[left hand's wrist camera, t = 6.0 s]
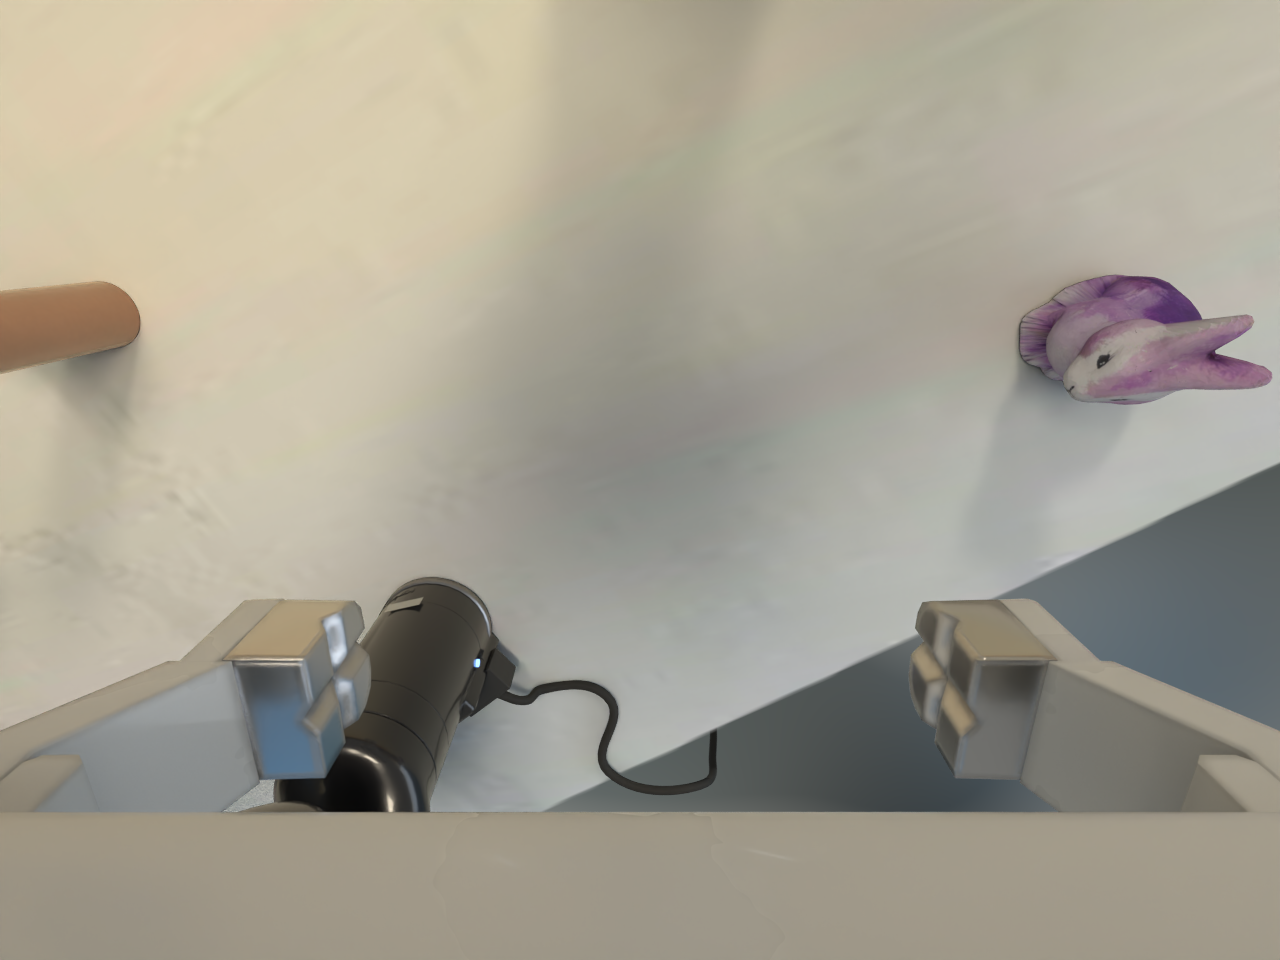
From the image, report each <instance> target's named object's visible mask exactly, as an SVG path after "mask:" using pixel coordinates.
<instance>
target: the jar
mask: <svg viewBox="0 0 1280 960" xmlns="http://www.w3.org/2000/svg"><path fill="white" fill-rule="evenodd" d="M139 327H140V317H139V313H138V310H137V308H136V306H135V304H134V302H133V301H132V299H131V298H130V297H129V296H128V295H127V294H126V293H125V292H124V291H123V290H121V289H120V288H118V287H117V286H115V285H112V284H110V283H107V282H102V281H95V282H84V283H74V284H64V285H54V286H43V287H33V288H23V289H13V290H3V291H0V374H4V373H8V372H13V371H17V370H21V369H26V368H30V367H34V366H39V365H43V364H48V363H52V362H56V361H61V360H65V359H69V358H74V357H78V356H83V355H87V354H91V353H96V352H100V351H104V350H109V349H113V348H118V347H122V346H125V345H127V344H129V343H130V342H132V341H133V340H134V339H135V337H136V336H137V334H138V331H139Z"/></svg>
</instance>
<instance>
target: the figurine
mask: <svg viewBox="0 0 1280 960" xmlns="http://www.w3.org/2000/svg"><path fill="white" fill-rule="evenodd" d="M1253 323H1254V320H1253V318H1252V316H1249V315H1239V316H1230V317H1221V318H1213V319H1204V320H1202V318H1201V315H1200V314H1199V312H1198V310H1197V309H1196V308H1195V306H1194V305H1193V304H1192V302H1191V301H1190V300H1189V299H1188V298H1186V297H1185V296H1184V295H1183V294H1182V293H1181V292H1179V291H1178V290H1177V289H1176V288H1175V287H1173V286H1172V285H1171V284H1170V283H1168V282H1166V281H1163V280H1161V279H1158V278H1154V277H1139V276H1124V275H1108V276H1104V277H1099V278H1095V279H1091V280H1087V281H1083V282H1080V283H1077V284H1075V285H1072V286H1069V287H1067V288H1064V289H1063V290H1062V291H1061V292H1060V293H1059V294H1057V295H1056V296H1055V297H1054V298H1052V300H1051V301H1050V302H1049V303H1047V304H1045V305H1043V306H1041V307H1039V308H1037V309H1035V310H1033V311H1031V312H1030V313H1028V314H1027V315H1026V316H1025V317H1024V318H1023V320H1022V323H1021V324H1020V325H1021V327H1020V329H1021V331H1020V332H1021V334H1020V336H1021V337H1020V352H1021V353H1020V354H1021V355H1022V358H1023V360H1025V361H1026V362H1027V363H1029V364H1031V365H1034V366H1037V367H1040V368H1041V369H1042V372H1043V373H1044V375H1046V376H1047V377H1049V378H1050V379H1054V380H1061V381H1063V384H1064V387H1065V389H1066V390H1067V392H1068V393H1069V394H1070V395H1071V397H1072V398H1074V399H1075V400H1078V401H1082V402H1102V403H1115V404H1124V405H1126V404H1141V403H1147V402H1151V401H1154V400H1157V399H1160V398H1162V397H1164V396H1166V395H1169V394H1171V393H1173V392H1175V391H1179V390H1183V389H1205V390H1224V389H1225V390H1230V389H1251V388H1257V387H1261V386H1264V385H1267V384H1268V383H1269V382H1270V381H1271V379H1272V373H1271V372H1270V371H1269V370H1268V369H1267V368H1265V367H1264V366H1259V365H1256V364H1253V363H1250V362H1247V361H1243V360H1239V359H1235V358H1231V357H1227V356H1223V355H1219V354H1216V353H1215V350H1216V349H1218V348H1220V347H1221V346H1223V345H1225V344H1227V343H1229V342H1230V341H1232V340H1234V339H1236V338H1238V337H1239V336H1241V335H1242V334H1243V333H1245V332H1246V331H1247V330H1249V329H1250V328H1251V327H1252V325H1253Z"/></svg>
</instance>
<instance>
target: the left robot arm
mask: <svg viewBox="0 0 1280 960" xmlns="http://www.w3.org/2000/svg"><path fill="white" fill-rule="evenodd" d="M364 629H365V626H364V621H363V616H362V611H361V607H360V606H359V605H358V604H357V603H356V602H355V601H341V600H284V599H255V600H246V601H244V602H243V603H242V604H241V605H239V606H238V607H237V608H236V609H235V610H234V611H233V612H232V613H231V614H230V615H229V616H228V617H227V618H225V619H224V620H223V621H222V622H221V623H220V624H219V625H218V626H217V627H216V628H215V629H214V630H213V631H212V632H210V633H209V634H208V635H207V636H206V637H205V638H204V639H203V640H202V641H201V642H200V643H199V644H198V645H196V646H195V647H194V648H193V649H192V650H191V651H190V652H189V653H188V654H187V655H186V656H185V657H184V658H182V659H181V660H180V661H167V662H165V663H163V664H160V665H158V666H155V667H153V668H150V669H148V670H146V671H143V672H141V673H138V674H136V675H134V676H131V677H129V678H126V679H124V680H122V681H119V682H117V683H114V684H112V685H110V686H107V687H105V688H102V689H100V690H98V691H95V692H93V693H90V694H88V695H86V696H83V697H81V698H78V699H76V700H74V701H71V702H69V703H66V704H64V705H61V706H59V707H57V708H54V709H52V710H49V711H47V712H45V713H42V714H40V715H37V716H35V717H33V718H30V719H28V720H25V721H23V722H21V723H18V724H16V725H13V726H11V727H9V728H6V729H4V730H1V731H0V960H1280V731H1278V730H1276V729H1273V728H1271V727H1269V726H1266V725H1264V724H1261V723H1259V722H1257V721H1254V720H1252V719H1249V718H1247V717H1245V716H1242V715H1240V714H1237V713H1235V712H1232V711H1230V710H1228V709H1225V708H1223V707H1221V706H1218V705H1216V704H1213V703H1211V702H1209V701H1206V700H1204V699H1201V698H1199V697H1197V696H1194V695H1192V694H1189V693H1187V692H1185V691H1182V690H1180V689H1177V688H1175V687H1173V686H1170V685H1168V684H1165V683H1163V682H1160V681H1158V680H1156V679H1153V678H1151V677H1149V676H1146V675H1144V674H1141V673H1139V672H1137V671H1134V670H1132V669H1129V668H1127V667H1125V666H1122V665H1120V664H1117V663H1115V662H1113V661H1100V660H1099V659H1098V658H1096V657H1095V656H1094V655H1093V654H1092V653H1091V652H1090V651H1089V650H1088V649H1087V648H1086V647H1085V646H1084V645H1083V644H1081V643H1080V642H1079V641H1078V640H1077V639H1076V638H1075V637H1074V636H1073V635H1072V634H1071V633H1070V632H1069V631H1068V630H1066V629H1065V628H1064V627H1063V626H1062V625H1061V624H1060V623H1059V622H1058V621H1057V620H1056V619H1055V618H1054V617H1053V616H1051V615H1050V614H1049V613H1048V612H1047V611H1046V610H1045V609H1044V608H1043V607H1042V606H1041V605H1040V604H1039V603H1038V602H1036V601H1033V600H1030V599H1006V600H958V601H929V602H922V604H921V607H920V609H919V611H918V614H917V620H916V626H915V629H916V630H917V632H918V633H919V635H920V636H921V638H922V639H923V641H924V642H923V643H922V644H921V645H920V646H919V647H918V648H917V649H916V650H915V651H914V652H913V653H912V654H911V659H910V667H909V684H910V694H911V697H912V700H913V703H914V707H915V709H916V711H917V713H918V714H919V716H920V718H921V720H922V721H924V722H925V723H927V724H929V725H930V726H932V727H933V728H935V729H936V736H935V744H936V746H937V748H938V749H939V751H940V753H941V755H942V756H943V758H944V760H945V762H946V763H947V765H948V767H949V768H950V770H951V772H952V773H953V775H954V777H955V778H974V779H1010V780H1020V783H1021V784H1022V785H1024V786H1025V787H1026V788H1028V789H1029V790H1030V791H1032V792H1033V793H1034V794H1036V795H1037V796H1038V797H1040V798H1041V799H1042V800H1044V801H1045V802H1046V803H1048V804H1049V805H1050V806H1051V807H1053V808H1054V809H1055V810H1057V811H1058V812H222V811H223V810H225V809H226V808H227V807H229V806H230V805H231V804H233V803H234V802H235V801H237V800H238V799H239V798H241V797H242V796H243V795H245V794H246V793H247V792H249V791H250V790H251V789H253V788H254V787H255V786H257V785H258V784H259V783H260V781H259V780H269V779H305V778H325V777H326V775H327V774H328V772H329V770H330V768H331V767H332V765H333V763H334V762H335V760H336V758H337V756H338V755H339V753H340V751H341V750H342V748H343V746H344V744H345V743H346V742H345V736H344V729H345V728H347V727H348V726H350V725H351V724H353V723H355V722H356V721H358V720H359V718H360V716H361V714H362V712H363V711H364V709H365V707H366V704H367V700H368V696H369V692H370V687H371V665H370V658H369V654H368V653H367V652H366V651H365V650H364V649H363V648H362V647H361V646H360V645H359V644H358V643H357V642H356V641H357V639H358V638H359V636H360V635H361V633H362V632H363V630H364Z"/></svg>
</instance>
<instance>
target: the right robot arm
mask: <svg viewBox="0 0 1280 960" xmlns="http://www.w3.org/2000/svg"><path fill="white" fill-rule="evenodd" d="M497 645H498V639H497V638H496V637H495V636H494V635H493V633H492V626H491V620H490V616H489V614H488V611H487V609H486V607H485V606H484V604H483V603H482V601H481V600H480V599H479V598H478V597H477V596H476V595H475V594H474V593H473V592H472V591H470V590H469V589H468V588H466V587H464V586H463V585H461V584H459V583H456V582H454V581H451V580H447V579H443V578H421V579H417V580H414V581H411V582H408V583H406V584H404V585H403V586H401V587H400V588H398V589H397V590H396V591H395V592H394V593H393V594H392V595H391V597H390V598H389V600H388V601H387V603H386V604H385V606H384V608H383V610H382V611H381V613H380V614H379V617H378V618H377V620H376V621H375V622H374V624H373V625H372V627H371V628H370V630H369V631H368V633H367V634H366V636H365V637H364V639H363V640H362V642H361V643H360V646H361V647H362V648H363V649H364V650H365V651H366V652H367V653H368V654H369V658H370V665H371V687H370V692H369V696H368V700H367V704H366V707H365V709H364V711H363V712H362V714H361V716H360V718H359V720H358V721H356V722H355V723H353V724H351V725H350V726H348V727H347V728H345V729H344V736H345V742H346V743H345V744H344V746H343V748H342V750H341V751H340V753H339V755H338V756H337V758H336V760H335V762H334V763H333V765H332V767H331V768H330V770H329V772H328V774H327V775H326V777H325V778H305V779H275V782H274V792H273V795H274V803H270V804H265V805H261V806H256V807H252V808H249V809H246V810H242V811H239V812H430V800H431V797H432V794H433V791H434V788H435V786H436V783H437V780H438V777H439V775H440V772H441V769H442V766H443V764H444V761H445V758H446V755H447V753H448V750H449V747H450V744H451V742H452V739H453V736H454V734H455V731H456V728H457V725H458V723H460V722H461V721H463V720H464V719H465V718H467V717H468V716H471V717H472V716H473V715H474V714H476V713H477V712H478V711H480V710H481V709H483V708H484V707H485V706H487V705H488V704H489V703H491V702H492V701H493V700H495V699H496V698H499V699H502V700H504V701H507V702H509V703H512V704H516V705H528V704H531V703H533V702H534V701H535V700H536V698H537V697H538V696H539V695H541V694H545V693H549V692H554V691H560V690H569V689H579V690H586V691H590V692H592V693H595V694H597V695H598V696H600V697H601V698H602V699H604V701H605V702H606V703H607V704H608V706H609V709H610V716H609V721H608V724H607V727H606V729H605V732H604V734H603V737H602V739H601V742H600V745H599V750H598V762H599V765H600V768H601V770H602V771H603V772H604V773H605V775H606V776H608V777H609V778H610V779H611V780H613V781H614V782H616V783H617V784H619V785H621V786H623V787H625V788H628V789H630V790H633V791H636V792H641V793H646V794H653V795H676V794H684V793H689V792H694V791H697V790H701V789H703V788H706V787H708V786H709V785H711V784H712V783H713V782H714V780H715V778H716V775H717V762H716V752H717V728H715V729H713V730H711V731H710V744H709V774H708V776H707V777H706V778H705V779H703V780H700V781H697V782H693V783H689V784H683V785H676V786H653V785H645V784H641V783H637V782H634V781H631V780H629V779H627V778H624V777H623V776H621V775H619V774H618V773H616V772H615V771H614V770H613V769H612V768H611V767H610V766H609V765H608V763H607V760H606V752H607V748H608V745H609V742H610V740H611V737H612V735H613V732H614V730H615V727H616V724H617V719H618V706H617V704H616V701H615V699H614V698H613V696H612V695H611V694H610V693H609V692H608V691H607V690H605V689H604V688H602V687H601V686H599V685H597V684H594V683H591V682H587V681H579V680H572V681H561V682H554V683H549V684H544V685H540V686H537V687H535V688H534V689H533V690H532V691H531V692H530V694H529V695H527V696H518V695H515V694H512V693H510V692H507V690H508V689H510V686H511V683H512V679H513V676H514V672H515V669H516V667H515V666H514V665H513V664H512V663H511V662H510V661H509V660H508V659H507V658H506V657H505V656H504V655H503V654H502V653H501V652H500V651H499V650H498V649H497V648H496V647H497Z"/></svg>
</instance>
